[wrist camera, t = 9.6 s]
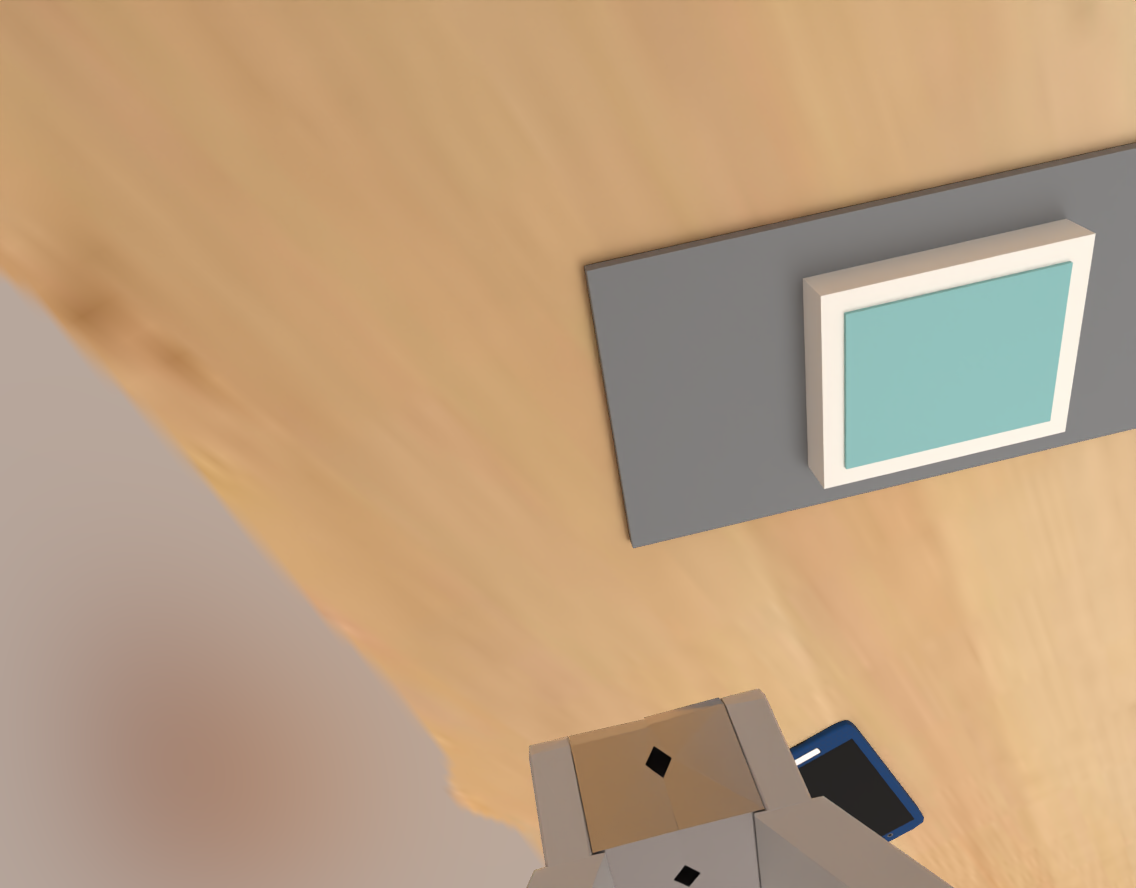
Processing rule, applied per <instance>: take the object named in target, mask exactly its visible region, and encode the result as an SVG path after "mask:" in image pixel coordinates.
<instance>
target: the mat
mask: <svg viewBox="0 0 1136 888" xmlns="http://www.w3.org/2000/svg"><path fill="white" fill-rule="evenodd" d="M1062 219H1068V220H1070V221H1072V222H1074V223H1076V224H1078V225H1080V226H1082V227H1084V228H1086V229H1088V230H1090V231H1092V232H1094V233H1096V235H1095V241H1094V248H1093V254H1092V261H1091V267H1090V274H1089V280H1088V287H1087V293H1086V300H1085V306H1084V313H1083V319H1082V325H1081V332H1080V338H1079V345H1078V351H1077V358H1076V364H1075V371H1074V377H1073V384H1072V390H1071V397H1070V403H1069V409H1068V416H1067V422H1066V429H1065V432H1062V433H1058V434H1053V435H1049V436H1045V437H1041V438H1037V439H1032V440H1028V441H1024V442H1020V443H1016V444H1011V445H1007V446H1003V447H999V448H995V449H990V450H986V451H982V452H978V453H974V454H969V455H965V456H961V457H957V458H953V459H948V460H944V461H940V462H936V463H932V464H927V465H923V466H919V467H915V468H911V469H906V470H902V471H898V472H894V473H890V474H885V475H881V476H877V477H873V478H869V479H864V480H860V481H856V482H852V483H848V484H843V485H839V486H835V487H831V488H826V489H824V488H823V486H822V485H821V484H820V482H819V481H818V479H817V478H816V477H815V475H814V474H813V472H812V471H811V469H810V468H809V467H808V442H807V409H806V375H805V341H804V307H803V278H807V277H811V276H816V275H820V274H824V273H829V272H833V271H838V270H842V269H846V268H851V267H855V266H860V265H864V264H868V263H873V262H877V261H882V260H886V259H890V258H895V257H899V256H904V255H908V254H912V253H917V252H921V251H926V250H930V249H935V248H939V247H943V246H948V245H952V244H957V243H961V242H965V241H970V240H974V239H979V238H983V237H987V236H992V235H996V234H1001V233H1005V232H1009V231H1014V230H1018V229H1023V228H1027V227H1032V226H1036V225H1040V224H1045V223H1049V222H1054V221H1058V220H1062ZM584 268H585V274H586V280H587V286H588V292H589V298H590V304H591V310H592V316H593V322H594V328H595V334H596V340H597V345H598V351H599V357H600V363H601V369H602V375H603V381H604V387H605V393H606V399H607V405H608V411H609V417H610V422H611V428H612V434H613V440H614V446H615V452H616V458H617V464H618V470H619V476H620V482H621V488H622V494H623V499H624V505H625V511H626V517H627V523H628V529H629V535H630V541H631V544H632V547H633V548H636V547H641V546H645V545H649V544H653V543H657V542H662V541H666V540H670V539H674V538H678V537H683V536H687V535H691V534H695V533H699V532H703V531H708V530H712V529H716V528H720V527H724V526H729V525H733V524H737V523H741V522H745V521H750V520H754V519H758V518H762V517H766V516H771V515H775V514H779V513H783V512H787V511H791V510H796V509H800V508H804V507H808V506H812V505H817V504H821V503H825V502H829V501H833V500H838V499H842V498H846V497H850V496H854V495H859V494H863V493H867V492H871V491H875V490H879V489H884V488H888V487H892V486H896V485H900V484H905V483H909V482H913V481H917V480H921V479H926V478H930V477H934V476H938V475H942V474H947V473H951V472H955V471H959V470H963V469H967V468H972V467H976V466H980V465H984V464H988V463H993V462H997V461H1001V460H1005V459H1009V458H1014V457H1018V456H1022V455H1026V454H1030V453H1035V452H1039V451H1043V450H1047V449H1051V448H1056V447H1060V446H1064V445H1068V444H1072V443H1076V442H1081V441H1085V440H1089V439H1093V438H1097V437H1102V436H1106V435H1110V434H1114V433H1118V432H1123V431H1127V430H1131V429H1135V428H1136V143H1132V144H1127V145H1123V146H1118V147H1114V148H1109V149H1105V150H1100V151H1096V152H1091V153H1087V154H1082V155H1078V156H1073V157H1069V158H1064V159H1060V160H1056V161H1051V162H1047V163H1042V164H1038V165H1033V166H1029V167H1024V168H1020V169H1015V170H1011V171H1006V172H1002V173H997V174H993V175H988V176H984V177H980V178H975V179H971V180H966V181H962V182H957V183H953V184H948V185H944V186H939V187H935V188H930V189H926V190H921V191H917V192H912V193H908V194H904V195H899V196H895V197H890V198H886V199H881V200H877V201H872V202H868V203H863V204H859V205H854V206H850V207H845V208H841V209H836V210H832V211H828V212H823V213H819V214H814V215H810V216H805V217H801V218H796V219H792V220H787V221H783V222H778V223H774V224H769V225H765V226H760V227H756V228H752V229H747V230H743V231H738V232H734V233H729V234H725V235H720V236H716V237H711V238H707V239H702V240H698V241H693V242H689V243H684V244H680V245H676V246H671V247H667V248H662V249H658V250H653V251H649V252H644V253H640V254H635V255H631V256H626V257H622V258H617V259H613V260H608V261H604V262H600V263H595V264H591V265H586V266H584Z"/></svg>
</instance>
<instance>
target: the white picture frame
mask: <svg viewBox="0 0 1136 888" xmlns="http://www.w3.org/2000/svg"><path fill="white" fill-rule="evenodd" d="M1095 235H1096V233H1094V232H1092V231H1090V230H1088V229H1086V228H1084V227H1082V226H1080V225H1078V224H1076V223H1074V222H1072V221H1070V220H1068V219H1062V220H1058V221H1054V222H1049V223H1045V224H1040V225H1036V226H1032V227H1027V228H1023V229H1018V230H1014V231H1009V232H1005V233H1001V234H996V235H992V236H987V237H983V238H979V239H974V240H970V241H965V242H961V243H957V244H952V245H948V246H943V247H939V248H935V249H930V250H926V251H921V252H917V253H912V254H908V255H904V256H899V257H895V258H890V259H886V260H882V261H877V262H873V263H868V264H864V265H860V266H855V267H851V268H846V269H842V270H838V271H833V272H829V273H824V274H820V275H816V276H811V277H807V278H803V307H804V341H805V375H806V409H807V442H808V467H809V468H810V469H811V471H812V472H813V474H814V475H815V477H816V478H817V479H818V481H819V482H820V484H821V485H822V486H823V488H824V489H826V488H831V487H835V486H839V485H843V484H848V483H852V482H856V481H860V480H864V479H869V478H873V477H877V476H881V475H885V474H890V473H894V472H898V471H902V470H906V469H911V468H915V467H919V466H923V465H927V464H932V463H936V462H940V461H944V460H948V459H953V458H957V457H961V456H965V455H969V454H974V453H978V452H982V451H986V450H990V449H995V448H999V447H1003V446H1007V445H1011V444H1016V443H1020V442H1024V441H1028V440H1032V439H1037V438H1041V437H1045V436H1049V435H1053V434H1058V433H1062V432H1065V429H1066V422H1067V416H1068V409H1069V403H1070V397H1071V390H1072V384H1073V377H1074V371H1075V364H1076V358H1077V351H1078V345H1079V338H1080V332H1081V325H1082V319H1083V313H1084V306H1085V300H1086V293H1087V287H1088V280H1089V274H1090V267H1091V261H1092V254H1093V248H1094V241H1095Z"/></svg>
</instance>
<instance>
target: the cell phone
mask: <svg viewBox="0 0 1136 888" xmlns="http://www.w3.org/2000/svg"><path fill="white" fill-rule="evenodd" d="M790 752H791V754H792V756H793V758H794V760H795V763H796V765H797V767H798V769H799V772H800V774H801V776H802V778H803V780H804V783H805V785H806V787H807V789H808V792H809V794H810V796H811V798H816V797H821V796H824V797H826V798H827V799H828V800H830V801H831V802H833V803H834V804H835V805H837V806H838V807H840V808H841V809H843V810H844V811H845V812H847V813H848V814H850V815H851V816H853V817H854V818H855V819H857V820H858V821H860V822H861V823H863V824H864V825H865V826H867V827H868V828H870V829H871V830H872V831H874V832H875V833H877V834H878V835H880V836H881V837H882V838H884V839H885V840H887V841H888V842H889V841H891V840H893V839H895V838H897V837H899V836H901V835H902V834H904V833H906V832H908V831H910V830H912V829H914V828H915V827H917V826H918V825H919V824H921V823H922V822H923V819H924V817H923V815H922V813H921V812H920V810H919V808H918V807H917V805H916V804H915V803H914V801H913V800H912V799H911V798H910V796H909V795H908V794H907V792H906V791H905V790H904V788H903V787H902V786H901V785H900V783H899V782H898V781H897V779H896V778H895V777H894V775H893V774H892V773H891V772H890V770H889V769H888V768H887V766H886V765H885V764H884V762H883V761H882V760H881V759H880V757H879V756H878V755H877V753H876V752H875V751H874V749H873V748H872V747H871V746H870V744H869V743H868V742H867V740H866V739H865V738H864V736H863V735H862V734H861V733H860V731H859V730H858V729H857V727H856V726H855V725H854V724H853V723H851V722H850V721H848V720H844V721H841V722H838V723H836V724H834V725H832V726H830V727H828V728H826V729H825V730H823V731H821V732H819V733H817V734H816V735H814V736H812V737H810V738H808V739H807V740H805V741H803V742H801V743H800V744H798V745H796V746H794V747H792V748H791V749H790Z"/></svg>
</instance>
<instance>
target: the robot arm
mask: <svg viewBox="0 0 1136 888" xmlns="http://www.w3.org/2000/svg"><path fill="white" fill-rule="evenodd" d="M644 718H645V719H643V720H639V721H634V722H630V723H625V724H621V725H616V726H612V727H607V728H603V729H598V730H594V731H589V732H585V733H580V734H576V735H572V736H569V737H568V736H567V737H563V738H559V739H555V740H551V741H547V742H542V743H538V744H534V745H530V746H529V760H530V767H531V774H532V780H533V787H534V793H535V800H536V807H537V813H538V820H539V826H540V833H541V840H542V846H543V853H544V859H545V866H546V867H544V868H540V869H537V870H534V872H533V874H532V876H531V879H530V881H529V883H528V885H527V888H954V887H952V886H951V885H949V884H948V883H946V882H945V881H944V880H942V879H941V878H939V877H938V876H936V875H935V874H934V873H932V872H931V871H929V870H928V869H927V868H925V867H924V866H922V865H921V864H919V863H918V862H917V861H915V860H914V859H912V858H911V857H909V856H908V855H907V854H905V853H904V852H902V851H901V850H899V849H898V848H897V847H895V846H894V845H892V844H891V843H890V842H888V841H887V840H885V839H884V838H882V837H881V836H880V835H878V834H877V833H875V832H874V831H872V830H871V829H870V828H868V827H867V826H865V825H864V824H863V823H861V822H860V821H858V820H857V819H855V818H854V817H853V816H851V815H850V814H848V813H847V812H845V811H844V810H843V809H841V808H840V807H838V806H837V805H835V804H834V803H833V802H831V801H830V800H828V799H827V798H826V797H824V796H821V797H816V798H811V796H810V794H809V792H808V789H807V787H806V785H805V783H804V780H803V778H802V776H801V774H800V772H799V769H798V767H797V765H796V763H795V760H794V758H793V756H792V754H791V752H790V749H789V747H788V745H787V743H786V740H785V738H784V736H783V734H782V731H781V729H780V727H779V725H778V723H777V720H776V718H775V716H774V714H773V711H772V709H771V707H770V705H769V703H768V700H767V698H766V696H765V694H764V693H763V692H762V691H761V690H760V689H754V690H750V691H746V692H743V693H739V694H735V695H731V696H727V697H723V698H721V699H719V698H715V699H711V700H708V701H704V702H700V703H697V704H693V705H689V706H685V707H682V708H678V709H674V710H670V711H667V712H663V713H659V714H655V715H652V716H648V717H644ZM569 738H570V739H569Z"/></svg>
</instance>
